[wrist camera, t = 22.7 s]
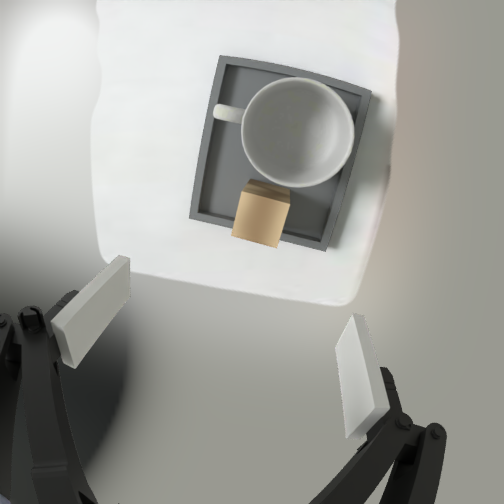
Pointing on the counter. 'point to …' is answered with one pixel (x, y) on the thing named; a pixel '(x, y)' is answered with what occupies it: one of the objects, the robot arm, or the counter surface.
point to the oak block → (261, 213)
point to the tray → (241, 170)
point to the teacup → (294, 131)
